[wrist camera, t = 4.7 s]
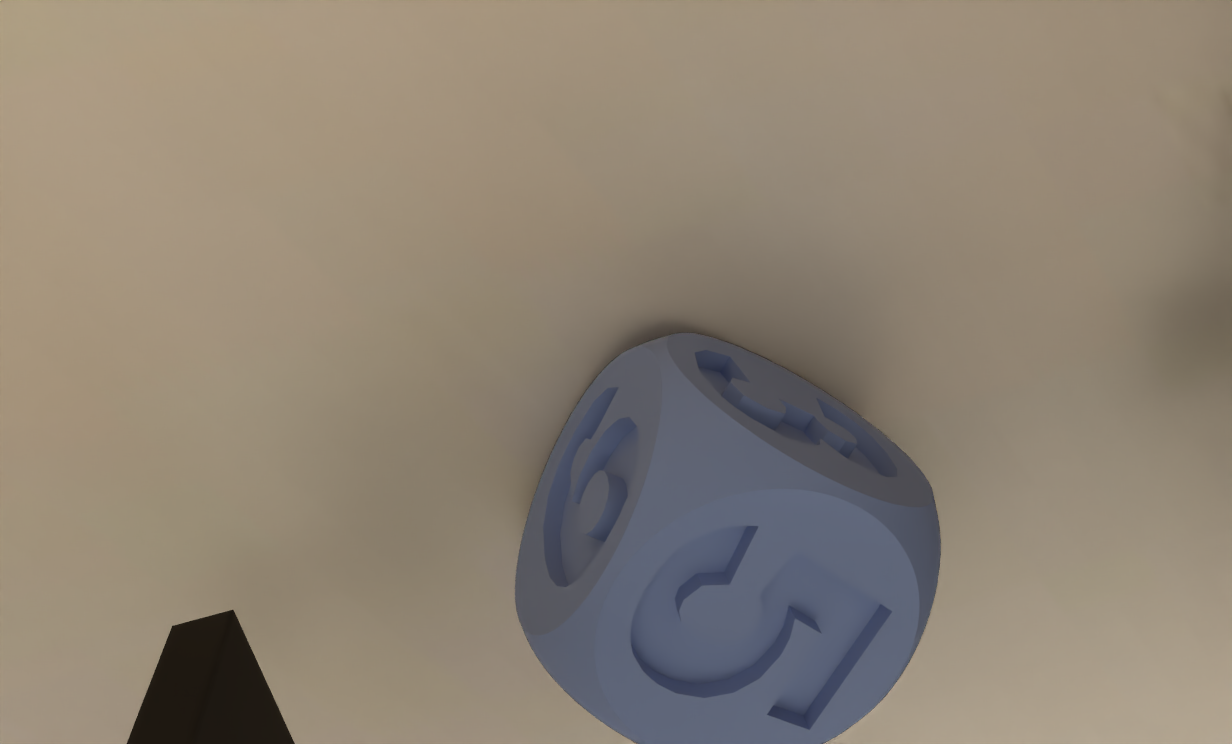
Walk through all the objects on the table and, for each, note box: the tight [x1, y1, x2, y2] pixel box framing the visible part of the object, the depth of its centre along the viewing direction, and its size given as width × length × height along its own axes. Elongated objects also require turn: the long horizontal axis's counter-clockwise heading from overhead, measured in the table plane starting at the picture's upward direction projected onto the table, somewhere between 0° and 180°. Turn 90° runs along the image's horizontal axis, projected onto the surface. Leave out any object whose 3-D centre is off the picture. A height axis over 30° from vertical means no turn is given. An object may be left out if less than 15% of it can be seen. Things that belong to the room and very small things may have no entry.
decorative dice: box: [515, 333, 941, 744], centre depth 15 cm, size 4×4×4 cm
